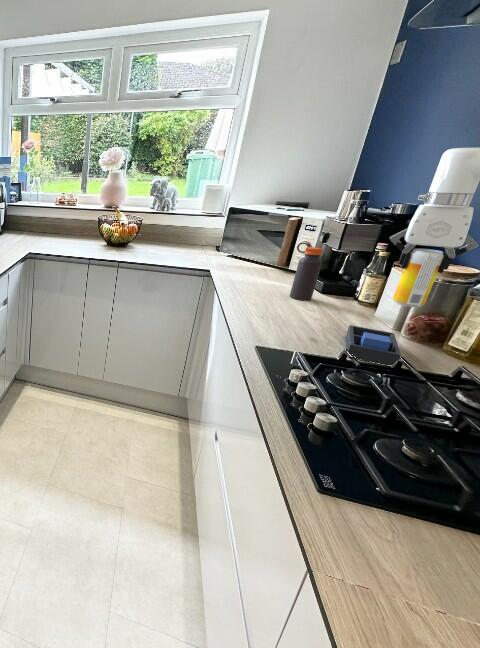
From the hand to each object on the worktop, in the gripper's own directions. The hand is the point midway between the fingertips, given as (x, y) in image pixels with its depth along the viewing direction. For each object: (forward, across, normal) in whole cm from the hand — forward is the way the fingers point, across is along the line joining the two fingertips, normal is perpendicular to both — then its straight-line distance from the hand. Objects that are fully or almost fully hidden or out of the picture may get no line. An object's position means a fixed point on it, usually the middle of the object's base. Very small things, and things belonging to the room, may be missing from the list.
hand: (420, 269), depth 106 cm
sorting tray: (+24, -4, -5) cm, 25 cm away
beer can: (+10, 0, 0) cm, 10 cm away
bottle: (+24, -23, +41) cm, 53 cm away
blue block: (+23, -4, -10) cm, 25 cm away
